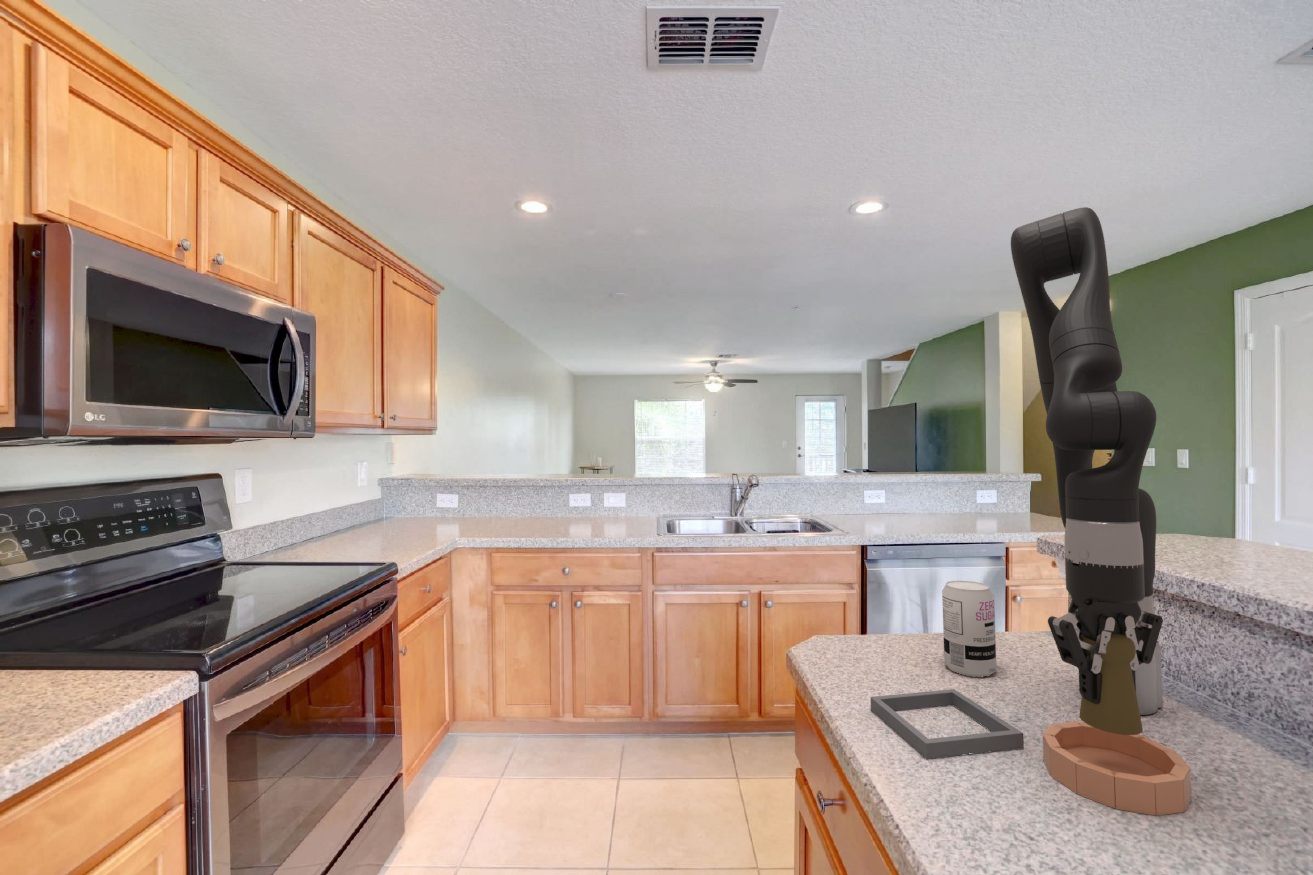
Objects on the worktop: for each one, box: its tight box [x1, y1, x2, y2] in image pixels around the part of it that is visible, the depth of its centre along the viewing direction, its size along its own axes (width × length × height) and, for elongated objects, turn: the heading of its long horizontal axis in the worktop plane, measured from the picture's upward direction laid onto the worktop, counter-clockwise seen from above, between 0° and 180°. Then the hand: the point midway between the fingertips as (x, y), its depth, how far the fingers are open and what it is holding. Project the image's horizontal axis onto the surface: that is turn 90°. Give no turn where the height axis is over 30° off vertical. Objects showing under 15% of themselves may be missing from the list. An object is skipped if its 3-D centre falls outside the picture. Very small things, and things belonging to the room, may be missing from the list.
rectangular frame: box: [870, 688, 1025, 760], centre depth 82 cm, size 14×14×2 cm
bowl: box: [1042, 721, 1192, 817], centre depth 69 cm, size 13×13×4 cm
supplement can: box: [941, 580, 998, 678], centre depth 102 cm, size 8×8×15 cm
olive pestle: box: [1078, 634, 1144, 735], centre depth 69 cm, size 6×6×11 cm
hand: (1107, 699), depth 69 cm, fingers closed on olive pestle, 3 cm apart
